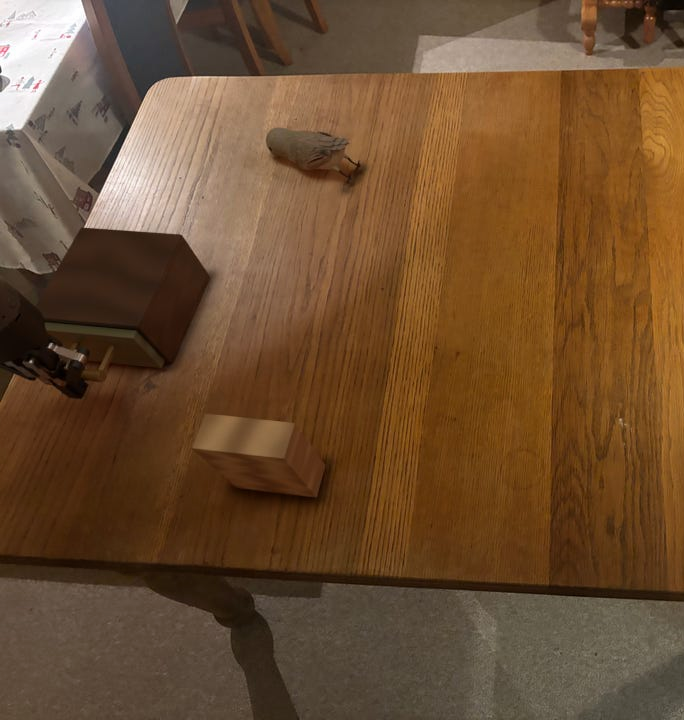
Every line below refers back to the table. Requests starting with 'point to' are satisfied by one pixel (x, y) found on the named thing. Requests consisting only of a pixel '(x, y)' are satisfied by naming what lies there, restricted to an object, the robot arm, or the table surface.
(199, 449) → the wooden block
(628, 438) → the table surface
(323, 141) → the decorative bird
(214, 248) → the table surface
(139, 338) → the drawer
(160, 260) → the cabinet
